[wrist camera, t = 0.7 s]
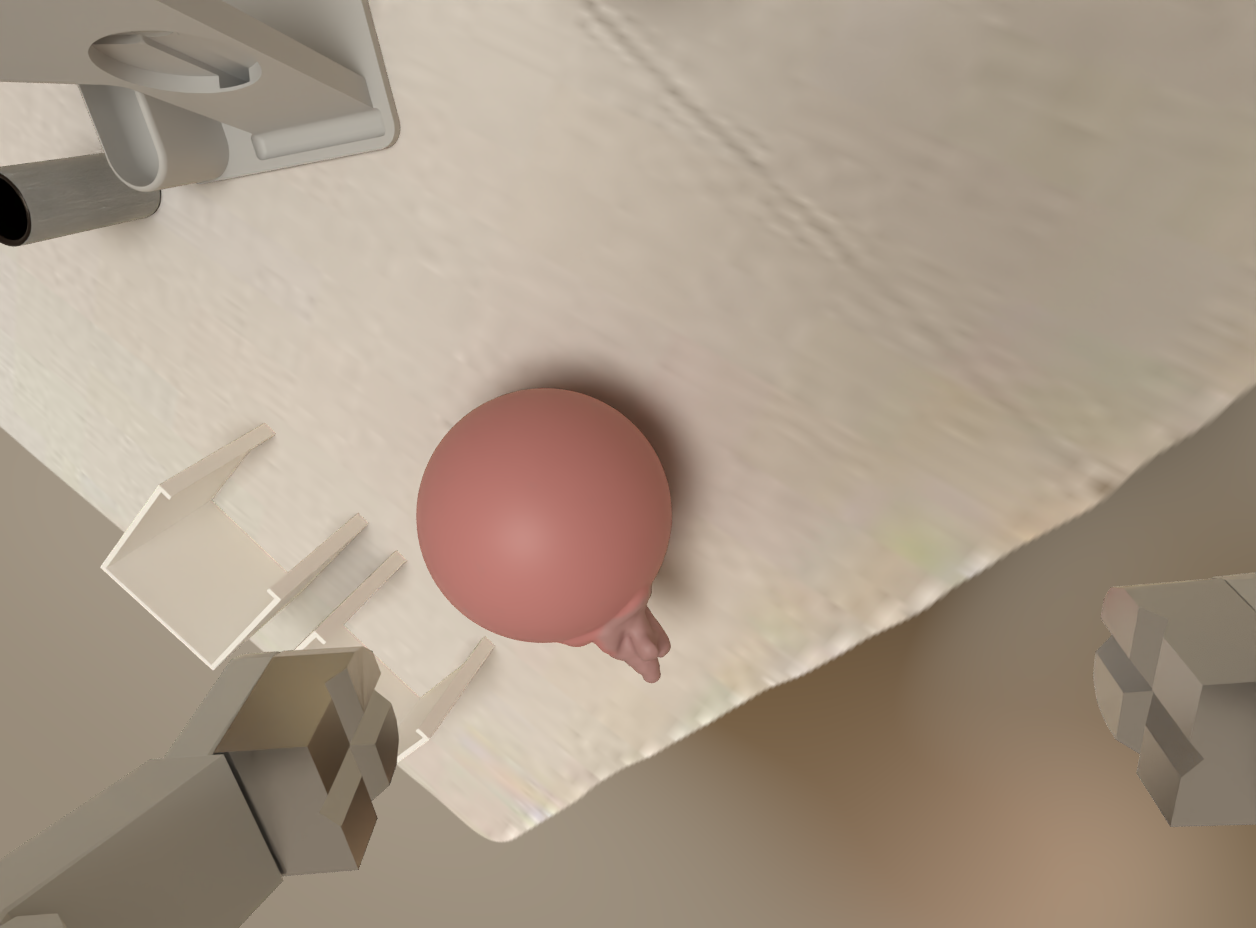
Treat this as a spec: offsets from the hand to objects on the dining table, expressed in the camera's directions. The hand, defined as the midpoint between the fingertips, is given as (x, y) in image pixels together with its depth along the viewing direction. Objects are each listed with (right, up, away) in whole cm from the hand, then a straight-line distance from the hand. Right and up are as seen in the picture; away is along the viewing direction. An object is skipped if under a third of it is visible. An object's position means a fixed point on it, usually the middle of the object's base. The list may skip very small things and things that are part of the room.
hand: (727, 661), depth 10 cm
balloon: (-3, +1, +50) cm, 50 cm away
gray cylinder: (-36, +22, +50) cm, 66 cm away
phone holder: (-24, +26, +44) cm, 57 cm away
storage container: (-24, -6, +61) cm, 65 cm away
